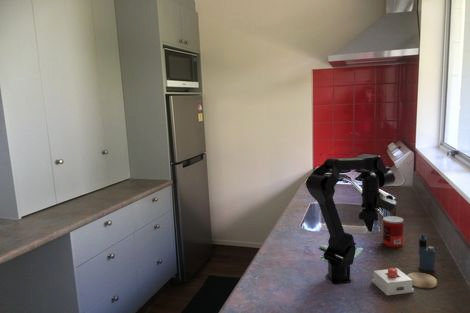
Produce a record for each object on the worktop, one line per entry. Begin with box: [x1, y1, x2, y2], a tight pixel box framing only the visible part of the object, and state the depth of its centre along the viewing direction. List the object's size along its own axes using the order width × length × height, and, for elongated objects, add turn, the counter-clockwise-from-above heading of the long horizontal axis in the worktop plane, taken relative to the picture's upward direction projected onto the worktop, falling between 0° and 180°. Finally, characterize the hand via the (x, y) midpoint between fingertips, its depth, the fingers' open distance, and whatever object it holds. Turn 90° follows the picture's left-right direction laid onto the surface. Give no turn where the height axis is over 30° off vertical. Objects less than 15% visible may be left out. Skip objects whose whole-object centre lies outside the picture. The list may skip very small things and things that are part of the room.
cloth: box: [319, 244, 363, 262], centre depth 150 cm, size 20×22×2 cm
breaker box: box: [371, 267, 415, 296], centre depth 120 cm, size 9×9×4 cm
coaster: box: [406, 271, 438, 289], centre depth 123 cm, size 9×9×1 cm
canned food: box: [382, 215, 405, 248], centre depth 154 cm, size 8×8×11 cm
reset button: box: [387, 267, 397, 278], centre depth 120 cm, size 3×3×4 cm
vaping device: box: [418, 234, 436, 271], centre depth 131 cm, size 3×5×12 cm, turn 56°
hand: (370, 231), depth 134 cm, fingers closed
